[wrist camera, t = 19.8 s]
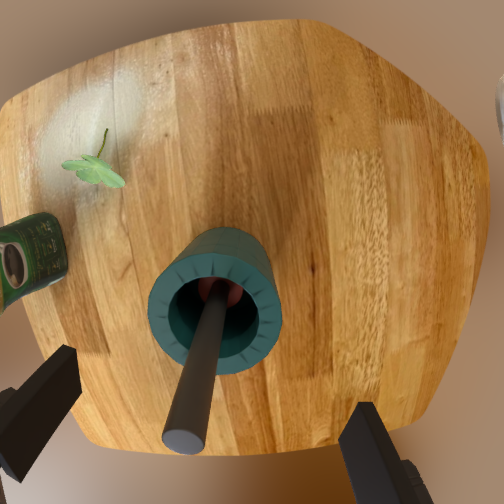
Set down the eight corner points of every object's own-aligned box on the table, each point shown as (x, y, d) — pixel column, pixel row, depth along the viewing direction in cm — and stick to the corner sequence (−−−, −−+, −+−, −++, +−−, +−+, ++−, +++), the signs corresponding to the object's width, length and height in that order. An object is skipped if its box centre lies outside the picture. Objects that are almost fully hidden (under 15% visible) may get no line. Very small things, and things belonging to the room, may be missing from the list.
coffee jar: (22, 218, 32) (-76, 245, 14) (60, 206, 32) (-48, 230, 14) (37, 284, 35) (-50, 337, 16) (76, 278, 34) (-17, 340, 16)
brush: (247, 258, 33) (245, 418, 10) (240, 295, 34) (228, 477, 11) (208, 251, 33) (128, 393, 9) (202, 288, 34) (134, 457, 10)
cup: (278, 236, 34) (296, 268, 21) (260, 318, 36) (265, 383, 23) (189, 219, 33) (154, 241, 20) (177, 302, 35) (145, 360, 22)
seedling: (124, 156, 36) (111, 198, 34) (74, 132, 30) (55, 175, 28) (150, 130, 31) (136, 176, 29) (93, 101, 26) (70, 147, 23)
